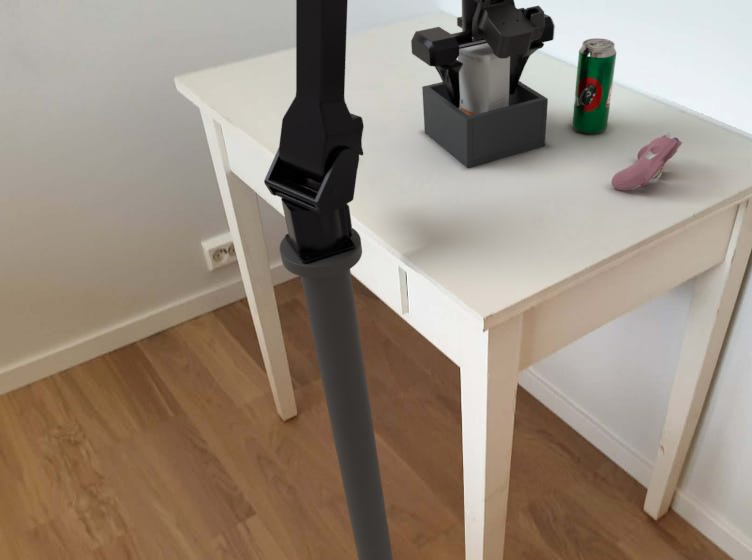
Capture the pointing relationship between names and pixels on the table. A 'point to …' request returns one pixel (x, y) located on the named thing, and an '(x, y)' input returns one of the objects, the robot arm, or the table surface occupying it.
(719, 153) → the table surface
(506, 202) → the table surface
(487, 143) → the dark grey open bin
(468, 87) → the cosmetic box
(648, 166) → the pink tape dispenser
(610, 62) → the soda can
